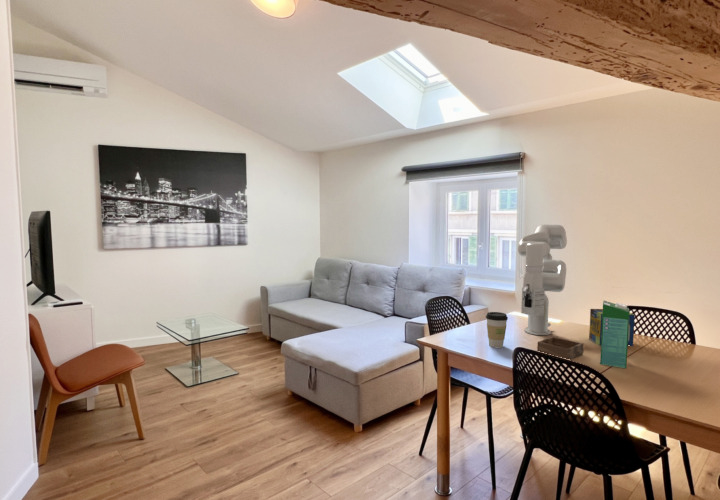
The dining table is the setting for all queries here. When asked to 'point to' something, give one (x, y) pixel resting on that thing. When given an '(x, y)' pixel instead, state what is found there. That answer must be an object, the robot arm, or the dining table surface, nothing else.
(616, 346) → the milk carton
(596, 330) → the protein box
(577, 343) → the bin
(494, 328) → the coffee cup
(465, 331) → the dining table surface
